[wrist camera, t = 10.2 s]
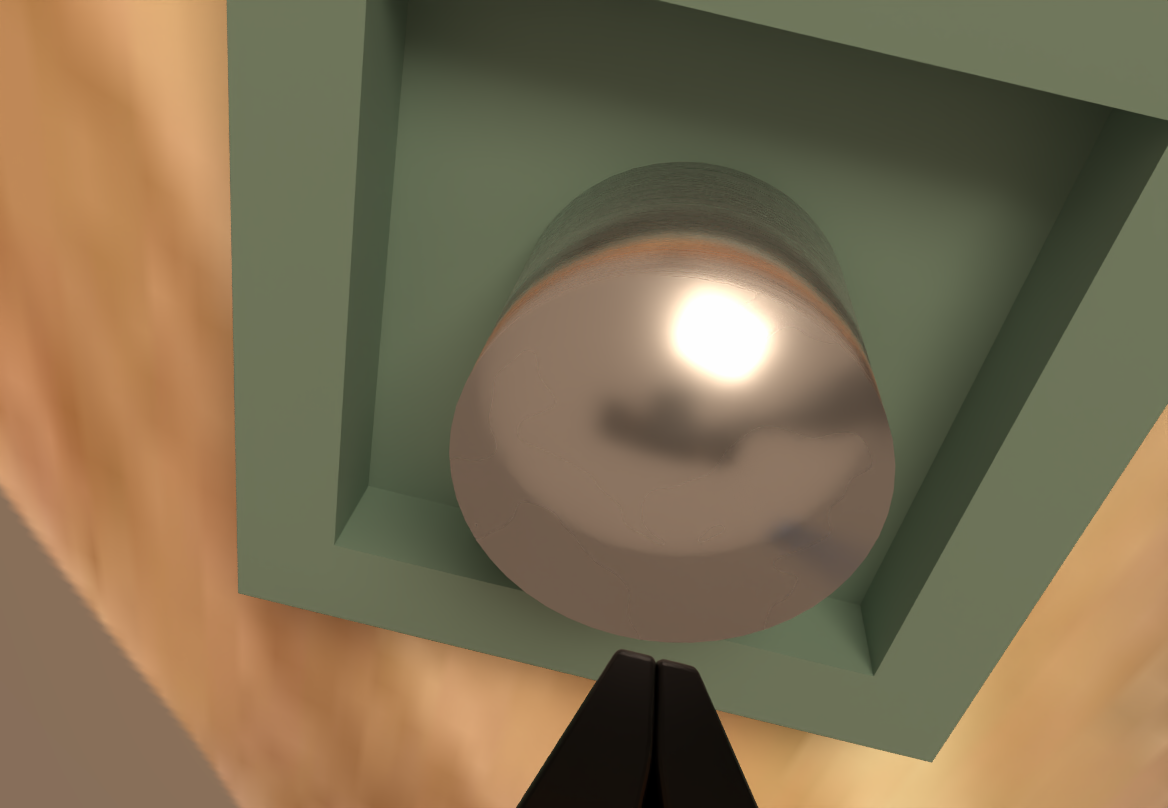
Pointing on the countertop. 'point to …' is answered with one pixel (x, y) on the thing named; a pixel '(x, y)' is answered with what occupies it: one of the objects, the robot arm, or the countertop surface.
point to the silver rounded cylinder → (676, 413)
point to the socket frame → (774, 155)
